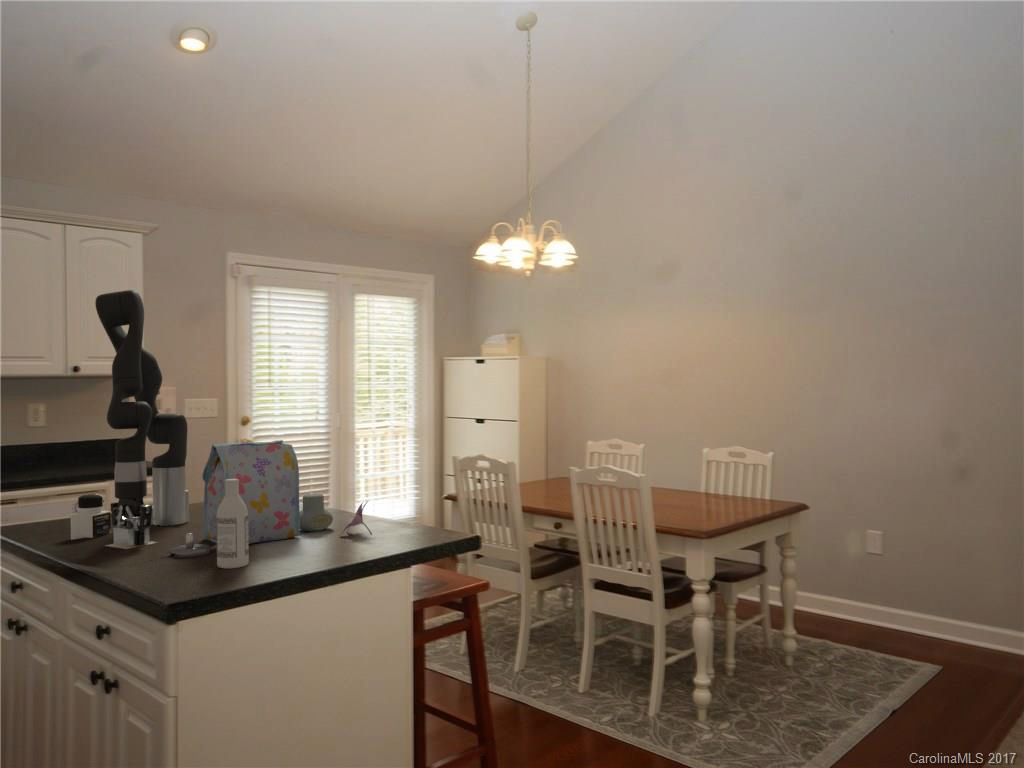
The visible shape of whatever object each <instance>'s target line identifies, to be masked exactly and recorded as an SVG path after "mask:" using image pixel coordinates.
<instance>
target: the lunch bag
mask: <svg viewBox="0 0 1024 768" xmlns="http://www.w3.org/2000/svg"><path fill="white" fill-rule="evenodd" d="M296 455H297V454H296V451H295V450H294V447H293V445H292V444H289V443H284V440H283V439H281V440H280V439H279V440H278V439H276V440H273V441H256V442H255V441H248V442H227V443H217V444H215V443H212V444H211V449H210V452H209V456H208V458H207V461H206V463H205V466H204V468H203V472H202V475H201V476H202V481H203V482H204V488H203V489H204V490H203V491H204V493H203V494H204V495H203V540H204V541H205V540H208V541H211V542H213V543H216V544H217V524H216V517H217V510H218V507H219V505H220V503H221V502H222V500H223V499H224V497H225V495H226V494H225V480H227V479H238V480H239V496H240V497H241V499H242V500H243V502H244V503H245V505H246V507H247V511H248V540H249V544H256V543H263V542H271V541H278V540H285V539H290V538H294V537H300V534H301V533H300V531H301V529H300V511H301V510H300V508H301V507H300V469H299V461H298V457H297V456H296Z"/></svg>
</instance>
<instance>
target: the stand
mask: <svg viewBox="0 0 1024 768" xmlns="http://www.w3.org/2000/svg"><path fill="white" fill-rule="evenodd" d="M133 527H134V525H133V523H131V521H130V520H129V521H128V528H133ZM158 543H159V542H158V541H152V540H151V541H150V540H149V543H146V544H143V545H139V546H138V545H137V546H132V547H124V546H117V545H114V543H111V544H110V543H109V544H107V545H105V544H104V546H105V547H110V548H116V549H117V548H118V549H124V550H129V549H134V548H139V547H143V546H149V545H153V544H158Z"/></svg>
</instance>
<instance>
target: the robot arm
mask: <svg viewBox="0 0 1024 768" xmlns="http://www.w3.org/2000/svg"><path fill="white" fill-rule="evenodd" d="M95 309H96V312H97V314H96V315H98V318H99V322H100V323H101V325H102V326H103V328H104V331H105V333H106V335H107V337H108V339H109V340H110V343H111V344H112V346H113V349H114V350H115V353H116V354H115V356H114V359H113V361H112V364H111V376H112V395H111V399H110V402H109V403H110V404H109V407H108V409H107V413H106V414H107V415H106V422H107V424H108V426H109V427H110V428H112V429H114V430H134V429H135V430H136V431H135V433H134V434H133V435H131V436H129V437H128V436H127V437H124V438H120V439H117V440H116V441H115V445H114V446H115V448H114V450H115V452H114V453H115V456H114V457H115V459H114V460H115V465H114V497H115V499H118V501H116V502H111V503H110V513H111V525H112V526H115V527H119V526H125V525H128V521H129V520H130V521H131V523H133V525H134V528H135V530H136V531H135V545H138V546H139V545H143V544H144V541H145V529H147V528H149V529H150V528H151V527H152V526H151V525H153V524H154V526H157V525H160V527H161V526H162V527H163V526H165V527H166V526H167V527H168V525H169V526H176V525H182V524H185V523H188V522H190V512H189V511H190V508H189V507H190V506H189V504H190V499H189V498H190V496H189V495H190V494H189V493H190V492H189V490H186V489H187V488H186V487H187V486H186V485H187V482H186V480H187V479H186V460H187V455H188V453H187V451H188V423H187V419H186V417H185V415H183V414H181V413H160V412H159V410H158V407H157V405H156V400H157V397H158V394H159V392H160V390H161V387H162V383H163V374H162V372H161V369H160V367H159V363H158V361H157V359H156V357H155V355H153V354H152V352H150V351H149V350H148V349H147V348H145V347H144V346H143V339H144V324H145V308H144V303H143V299H142V297H141V295H140V294H139V292H138V291H136V290H134V289H128V290H120V291H114V292H108V293H102V294H99V295H98V296H96V297H95ZM123 326H128V329H127V330H128V331H127V333H126V332H125V330H124V329H123ZM132 397H133V398H134V401H124V400H125V399H128V398H129V399H130V398H132ZM147 439H148V441H149V442H150V443H151V444H154V445H169V446H168V450H167V451H165V452H164V453H162V454H160V455H157V456H155V457H153V458H152V463H151V464H152V466H151V469H152V471H151V472H152V473H151V474H152V504H145V503H144V498H145V497H147V495H148V491H147V490H148V487H147V486H148V485H147V484H148V483H147V482H148V479H147V477H148V476H147V474H148V472H147V464H146V442H147ZM145 521H146V522H145ZM138 524H139V525H138ZM139 547H140V546H139Z"/></svg>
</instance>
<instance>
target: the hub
mask: <svg viewBox="0 0 1024 768" xmlns="http://www.w3.org/2000/svg"><path fill="white" fill-rule="evenodd" d="M194 537H195V536H194V533H193V532H187V533H185V544H182V545H178V546H174V547H171V548H170V550H169V551H170V553H171V554H169V555H170V556H169V557H171V558H176V559H187V558H189V557H190V558H197V557H202V556H205V555H208V554H209V553H210V545H209V544H204V543H203V544H202V543H195V542H194V539H195V538H194ZM194 543H195V544H194Z"/></svg>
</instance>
